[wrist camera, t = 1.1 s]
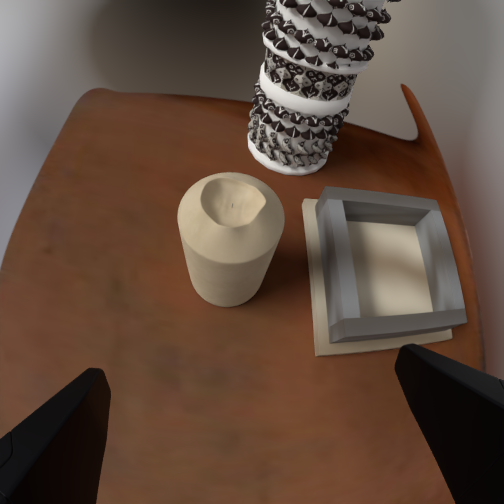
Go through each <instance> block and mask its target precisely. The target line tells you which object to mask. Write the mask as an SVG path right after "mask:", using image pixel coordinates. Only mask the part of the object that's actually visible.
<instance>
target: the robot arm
mask: <svg viewBox="0 0 504 504" xmlns="http://www.w3.org/2000/svg"><path fill="white" fill-rule="evenodd" d="M395 372H396V375H397V377H398V380H399V382H400V385H401V387H402V390H403V392H404V395H405V397H406V400H407V402H408V405H409V407H410V409H411V411H412V413H413V415H414V417H415V419H416V421H417V423H418V425H419V427H420V429H421V431H422V433H423V435H424V437H425V439H426V441H427V443H428V445H429V447H430V449H431V451H432V453H433V455H434V457H435V459H436V462H437V464H438V466H439V468H440V470H441V472H442V474H443V477H444V479H445V481H446V483H447V485H448V488H449V490H450V492H451V494H452V497H453V499H454V501H455V504H504V380H501V379H498V378H496V377H494V376H491V375H489V374H486V373H484V372H481V371H479V370H476V369H474V368H472V367H469V366H467V365H464V364H462V363H460V362H457V361H455V360H452V359H450V358H448V357H445V356H443V355H440V354H438V353H436V352H433V351H431V350H429V349H426V348H424V347H422V346H419V345H417V344H415V343H409V344H405V345H403V346H402V347H401V348H400V350H399V354H398V357H397V360H396V363H395ZM110 399H111V391H110V387H109V385H108V382H107V379H106V376H105V373H104V371H103V370H102V369H100V368H88V369H87V370H86V371H84V372H83V373H82V374H80V375H79V376H78V377H77V378H75V379H74V380H73V381H72V382H70V383H69V384H68V385H67V386H65V387H64V388H63V389H62V390H60V391H59V392H58V393H57V394H55V395H54V396H53V397H52V398H50V399H49V400H48V401H47V402H45V403H44V404H43V405H42V406H40V407H39V408H38V409H37V410H35V411H34V412H33V413H32V414H31V415H29V416H28V417H27V418H26V419H24V420H23V421H22V422H21V423H19V424H18V425H17V426H16V427H14V428H13V429H12V430H11V432H10V431H9V432H8V433H7V434H6V435H4V436H3V437H2V438H1V439H0V504H96V500H97V493H98V486H99V480H100V474H101V468H102V462H103V457H104V451H105V446H106V440H107V431H108V419H109V409H110Z"/></svg>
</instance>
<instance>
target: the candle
mask: <svg viewBox="0 0 504 504" xmlns="http://www.w3.org/2000/svg"><path fill="white" fill-rule="evenodd" d="M284 221H285V218H284V211H283V207H282V204H281V202H280V200H279V198H278V196H277V195H276V194H275V192H274V191H273V190H272V189H271V188H270V187H269V186H267V185H266V184H265V183H263V182H262V181H260V180H258V179H256V178H254V177H252V176H249V175H246V174H241V173H231V172H228V173H219V174H214V175H211V176H208V177H206V178H204V179H202V180H200V181H198V182H197V183H195V184H194V185H193V186H192V187H191V188H190V189H189V190H188V191H187V192H186V193H185V195H184V197H183V198H182V200H181V203H180V205H179V209H178V225H179V230H180V235H181V240H182V244H183V248H184V253H185V257H186V261H187V266H188V270H189V274H190V278H191V281H192V284H193V286H194V288H195V290H196V291H197V293H198V294H199V295H200V296H201V297H202V298H203V299H205V300H206V301H207V302H209V303H211V304H214V305H217V306H221V307H232V306H237V305H240V304H242V303H244V302H246V301H248V300H249V299H250V298H252V297H253V296H254V295H255V293H256V292H257V291H258V289H259V287H260V285H261V283H262V281H263V278H264V276H265V274H266V271H267V269H268V266H269V264H270V261H271V259H272V257H273V254H274V252H275V249H276V247H277V245H278V242H279V240H280V237H281V235H282V232H283V228H284Z"/></svg>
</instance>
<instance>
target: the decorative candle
mask: <svg viewBox="0 0 504 504" xmlns="http://www.w3.org/2000/svg"><path fill="white" fill-rule="evenodd" d="M384 1H385V0H268V1H267V6H265V9H264V11H265V13H266V14H268V15H267V16H266V21H264V22H263V23H262V28H263V29H264V30H265V31H264V33H263V40H264V44H265V45H266V46H267V49H266V55H265V62H264V63H263V64H262V66H261V72H260V77H259V78H258V82H257V83H255V84H254V89H255V90H256V93H255V96H254V97H253V98H252V102H253V103H254V104H255V105H254V107H253V109H252V110H251V111H250V119H251V121H250V123H249V124H248V130H249V134H248V148H249V150H250V151H251V153H252V154H253V156H254V158H255V159H256V160H257V161H259V162H260V163H261V164H263V165H264V166H265V167H267V168H268V169H270V170H273V171H276V172H279V173H281V174H284V175H297V176H303V175H307V174H310V173H314V172H316V171H318V170H319V169H320V168H321V167H322V166H323V165H324V164H325V163H326V160H327V157H328V153H329V152H331V151H332V144H331V143H332V142H334V141H336V140H337V136H336V135H335V134H337V132H338V131H339V129H340V128H342V126H343V119H344V116H347V115H348V113H349V110H348V107H349V100H350V98H351V95H352V91H353V85H354V83H355V80H356V77H357V74H358V73H360V72H362V71H364V70H366V69H367V66H368V61H369V60H371V59H372V57H373V56H374V52H373V50H372V49H371V48H370V46H369V45H368V43H369V40H370V41H371V40H380V39H382V38H383V37H384V33H383V32H382V30H381V29H380V28H379V26H377V25H376V22H377V24H380V23H388V22H389V21H390V20H391V17H390V15H389V14H388V13H387V12H386V9H384V10H382V6H383V4H384ZM389 1H391V2H399V1H401V0H387V2H389ZM271 24H272V25H271ZM330 142H331V143H330Z"/></svg>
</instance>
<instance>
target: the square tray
mask: <svg viewBox="0 0 504 504" xmlns="http://www.w3.org/2000/svg"><path fill="white" fill-rule="evenodd" d="M302 210H303V218H304V227H305V236H306V246H307V256H308V266H309V277H310V288H311V300H312V314H313V328H314V344H315V356H329V355H342V354H353V353H363V352H372V351H380V350H388V349H396V348H401V347H402V346H403V345H405V344H409V343H415V344H417V345H423V344H429V343H434V342H440V341H445V340H449V339H452V331H451V328H454V327H457V326H459V325H462V324H465V323H467V317H466V311H465V305H464V300H463V295H462V290H461V285H460V280H459V276H458V272H457V267H456V263H455V259H454V255H453V252H452V248H451V244H450V241H449V237H448V234H447V231H446V227H445V224H444V221H443V218H442V215H441V212H440V209H439V206H438V203H437V200H432V199H426V198H419V197H412V196H405V195H398V194H391V193H383V192H375V191H367V190H358V189H349V188H339V187H329V186H325V188H324V190H323V192H322V194H321V196H320V198H319V199H304V201H303V203H302Z"/></svg>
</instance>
